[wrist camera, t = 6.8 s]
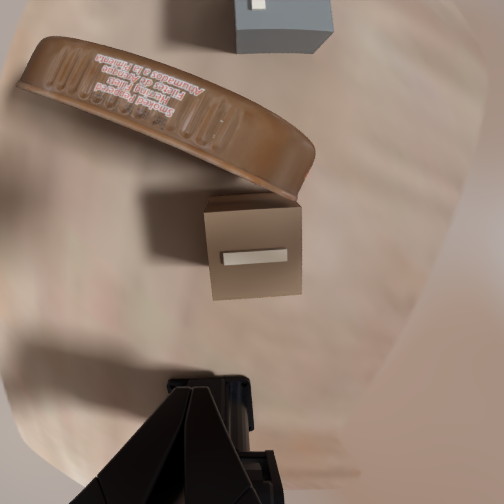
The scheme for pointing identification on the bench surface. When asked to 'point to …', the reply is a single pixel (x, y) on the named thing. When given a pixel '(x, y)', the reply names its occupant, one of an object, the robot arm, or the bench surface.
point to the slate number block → (282, 25)
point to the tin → (173, 110)
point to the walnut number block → (254, 246)
